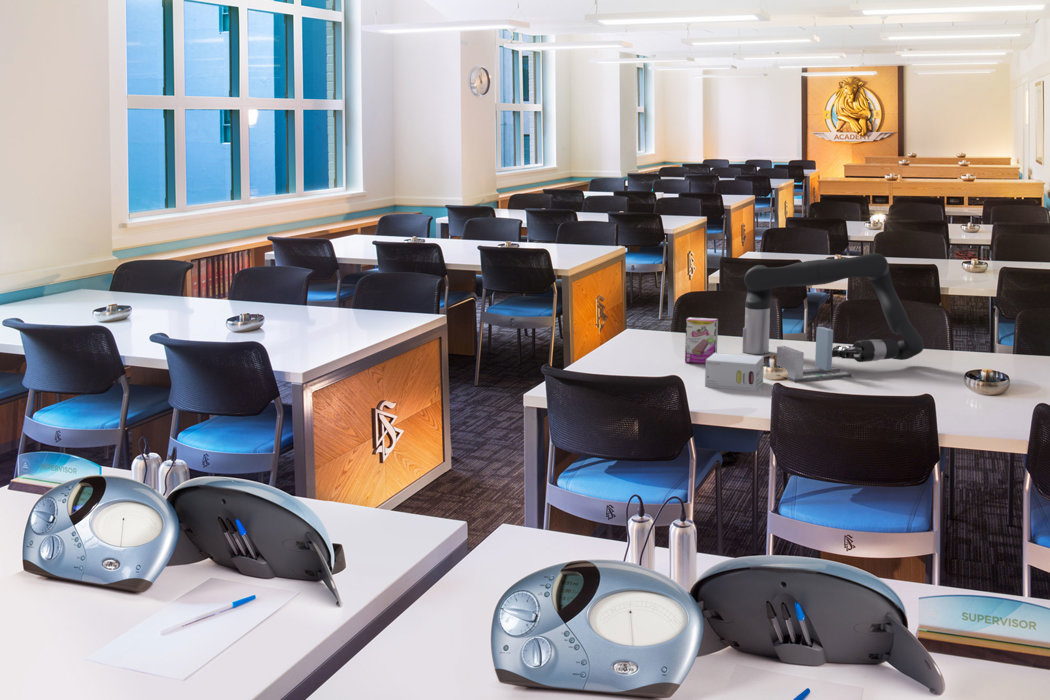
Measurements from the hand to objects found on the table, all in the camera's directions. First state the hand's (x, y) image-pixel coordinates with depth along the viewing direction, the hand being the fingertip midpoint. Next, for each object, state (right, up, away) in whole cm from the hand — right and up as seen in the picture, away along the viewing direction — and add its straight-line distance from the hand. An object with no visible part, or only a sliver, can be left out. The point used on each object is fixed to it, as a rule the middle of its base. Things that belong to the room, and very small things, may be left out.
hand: (826, 354), depth 352 cm
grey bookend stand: (-5, -7, -2) cm, 9 cm away
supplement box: (-34, -10, -11) cm, 38 cm away
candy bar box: (-39, -3, +22) cm, 45 cm away
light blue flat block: (0, -6, -1) cm, 6 cm away
